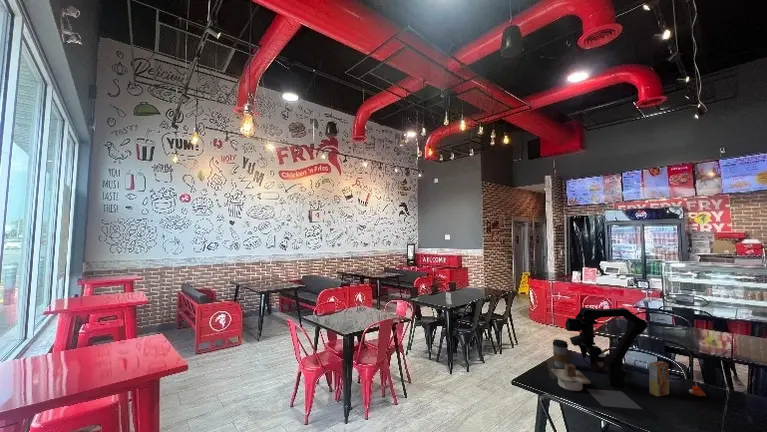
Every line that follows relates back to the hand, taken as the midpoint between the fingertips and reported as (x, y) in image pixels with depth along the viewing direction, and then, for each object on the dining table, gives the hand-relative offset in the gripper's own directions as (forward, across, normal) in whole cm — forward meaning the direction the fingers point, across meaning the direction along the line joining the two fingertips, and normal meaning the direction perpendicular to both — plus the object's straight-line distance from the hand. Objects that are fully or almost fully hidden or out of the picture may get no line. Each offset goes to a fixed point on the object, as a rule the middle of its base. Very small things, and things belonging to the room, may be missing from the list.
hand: (587, 361), depth 179 cm
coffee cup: (+12, -22, -6) cm, 26 cm away
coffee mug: (+12, -19, +12) cm, 26 cm away
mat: (+12, +16, +4) cm, 20 cm away
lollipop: (+12, +5, +49) cm, 51 cm away
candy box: (+12, +6, +31) cm, 34 cm away
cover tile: (+7, +5, -11) cm, 14 cm away
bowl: (+12, +5, -11) cm, 17 cm away
